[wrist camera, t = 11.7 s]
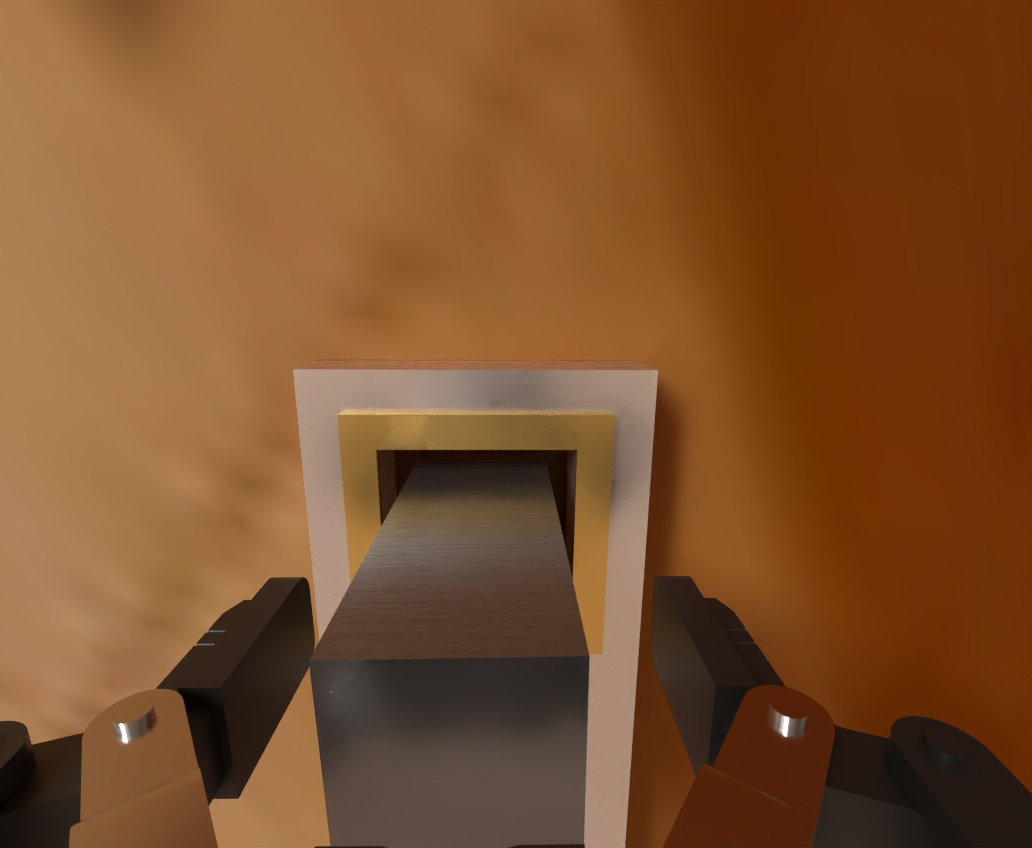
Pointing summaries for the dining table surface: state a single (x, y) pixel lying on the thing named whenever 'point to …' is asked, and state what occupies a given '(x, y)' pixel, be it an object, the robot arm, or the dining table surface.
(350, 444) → the rail
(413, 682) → the peg
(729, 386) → the dining table surface
